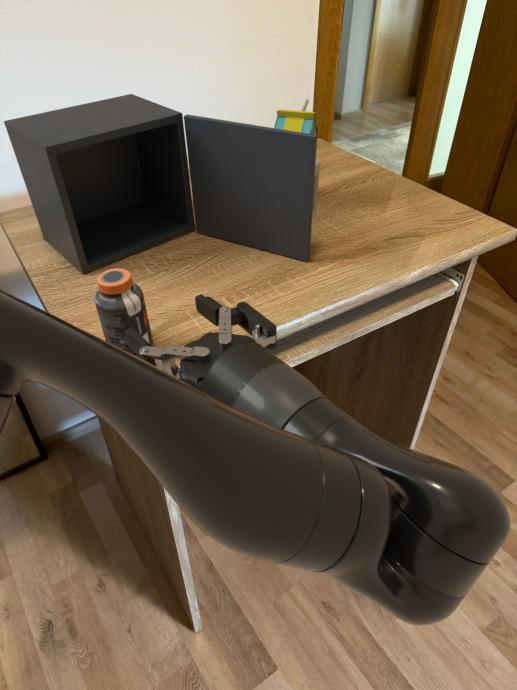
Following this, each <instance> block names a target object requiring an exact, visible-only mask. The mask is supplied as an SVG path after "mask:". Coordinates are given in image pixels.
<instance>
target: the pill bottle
mask: <svg viewBox="0 0 517 690" xmlns="http://www.w3.org/2000/svg"><path fill="white" fill-rule="evenodd" d="M96 281H97V282H96V283H97V284H98V290H96V293H95V295H94V305H95V309H96V312H97V316H98V319H99V322H100V327H101V330H102V332H103V337H104V340H105V341H107V342H109V343H111V344H113V345H115V346H117V347H119V348H121V349H123V350H125V351H127V348H126V344H125V341H124V336H126V333H125V330H127V329H129V328H131V327H132V328H133V329H134V330H136V331H137V332H138V333H139V334H140V335H141V336H142V337H143V338H144V339H145V340H146V341H148V342H149V343H150V346H152V347H154V339H153V333H152V330H151V329H152V328H151V326H150V325H151V324H150V320H149V316H148V311H147V306H146V301H145V296H144V293H143V289H142V288H141V287H140V286H139V285H138V284H137V283H135V282H134V281H133V277H132V274H131V272H130V271H129V270H127V269H125V268H118V267H117V268H116V267H115V268H111V269H107V270H105V271H103V272H101V273H99V275H98V276H97V280H96ZM127 352H128V351H127ZM128 353H129V352H128Z"/></svg>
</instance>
